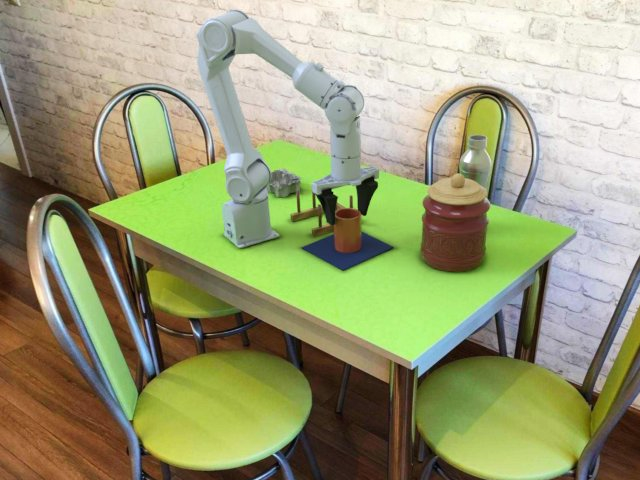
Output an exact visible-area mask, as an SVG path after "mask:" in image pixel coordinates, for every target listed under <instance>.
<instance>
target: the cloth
mask: <svg viewBox="0 0 640 480" xmlns="http://www.w3.org/2000/svg"><path fill="white" fill-rule="evenodd" d="M361 242H362V244H361V249H360V250H358V251H356V252H353V253H342V252H339V251H337V250H336V249H335V245H334V233H333V234H330V235H328V236H325V237H323V238H321V239H318V240H316V241H313V242H311V243H308V244H305V245H303V246H301V249H302V250H304V251H306V252H307V253H309V254H311V255H312V256H315V257H317V258H318V259H319V260H322V261H324V262H326V263H328V264H329V265H331V266H333V267H335V268H337V269H339V270H340V271H342V272H344V271H346V270H349V269H351V268H353V267H355V266H357V265H360V264H362V263H364V262H367V261H368V260H370V259H373V258H376V257H377V256H380V255H381V254H384V253H386V252H389V251H391V250H393V249H394V248H395V246H394V245H391V244H389V243H387V242H385V241H383V240H381V239H378V238H376V237H375V236H372V235H370V234H368V233H366V232H363V231H362V230H361Z"/></svg>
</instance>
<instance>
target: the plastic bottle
mask: <svg viewBox="0 0 640 480" xmlns="http://www.w3.org/2000/svg"><path fill="white" fill-rule="evenodd" d="M487 143H488V137H487V136H486V135H483V134H472V135H469V136H468V140H467V144H466V145H467V150H466V151H464V153H463V154H462V155H461V156H460V159H459V161H458V163H459V164H458V167H459V174H462V175H463V176H464V178H466V179H470V180H473V181H475V182H477V183H478V184H479V185H481V186H482V187H484V188H485V189H486V191H487V188H488V182H489V177H490V173H491V170H492V169H491V168H492V158H491V157H490V155H489V153H488V151H487V150H486V149H487V148H488V144H487Z"/></svg>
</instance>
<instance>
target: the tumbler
mask: <svg viewBox="0 0 640 480" xmlns="http://www.w3.org/2000/svg"><path fill="white" fill-rule="evenodd" d="M335 219H336V221H335V225H334V231H333V234H334V245H335V249H336V250H337V251H339V252H342V253H353V252H356V251H358V250H360V249H361V244H362V242H361V231H362V215H361V212H360V211H359V210H358V208H354V207H353V208H350V207H345V208H342V209H338V210H336V211H335Z"/></svg>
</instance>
